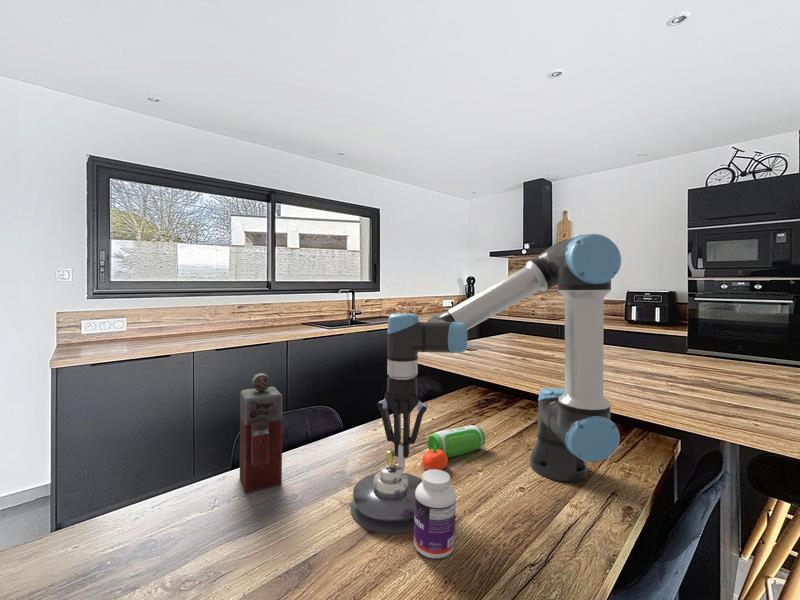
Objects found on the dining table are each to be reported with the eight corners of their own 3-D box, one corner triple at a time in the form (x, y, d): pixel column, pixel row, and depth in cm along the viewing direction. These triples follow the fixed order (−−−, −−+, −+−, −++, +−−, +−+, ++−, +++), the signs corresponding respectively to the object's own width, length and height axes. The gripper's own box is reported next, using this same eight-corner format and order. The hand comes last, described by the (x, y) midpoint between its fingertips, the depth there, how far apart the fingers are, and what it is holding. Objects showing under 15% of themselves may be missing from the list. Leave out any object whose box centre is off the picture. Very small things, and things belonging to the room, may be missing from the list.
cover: (405, 481, 92) (406, 460, 92) (410, 500, 84) (410, 477, 84) (372, 482, 91) (373, 461, 91) (374, 501, 83) (374, 478, 83)
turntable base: (438, 491, 95) (438, 485, 95) (425, 541, 76) (425, 534, 76) (366, 480, 99) (366, 475, 99) (337, 525, 81) (337, 518, 81)
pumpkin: (419, 475, 104) (417, 452, 104) (427, 462, 111) (425, 441, 111) (444, 477, 101) (442, 453, 101) (451, 464, 109) (449, 442, 109)
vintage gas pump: (246, 498, 90) (246, 382, 89) (239, 476, 100) (240, 372, 99) (284, 488, 95) (285, 378, 93) (274, 469, 104) (275, 368, 103)
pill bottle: (411, 534, 78) (413, 466, 78) (449, 533, 79) (451, 465, 79) (416, 562, 70) (418, 487, 70) (458, 561, 71) (461, 486, 71)
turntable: (425, 478, 98) (426, 447, 97) (439, 521, 80) (440, 484, 79) (353, 480, 96) (354, 449, 95) (351, 525, 78) (352, 487, 78)
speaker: (439, 463, 110) (440, 438, 110) (426, 453, 116) (426, 429, 116) (486, 452, 118) (486, 428, 118) (471, 443, 125) (471, 420, 124)
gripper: (430, 373, 96) (429, 465, 97) (382, 371, 99) (381, 459, 100) (425, 381, 89) (424, 479, 89) (373, 377, 92) (372, 473, 92)
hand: (401, 469), depth 95 cm, fingers closed
